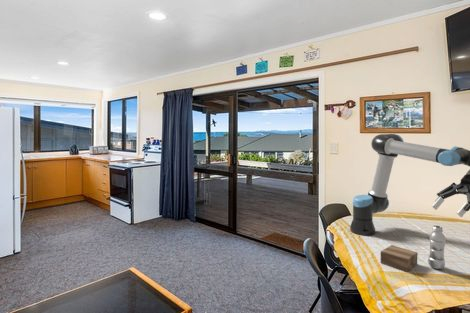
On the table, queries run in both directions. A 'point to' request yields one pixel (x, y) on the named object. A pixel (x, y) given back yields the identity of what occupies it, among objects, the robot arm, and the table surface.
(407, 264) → the walnut block
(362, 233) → the robot arm
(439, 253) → the plastic bottle
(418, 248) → the table surface
